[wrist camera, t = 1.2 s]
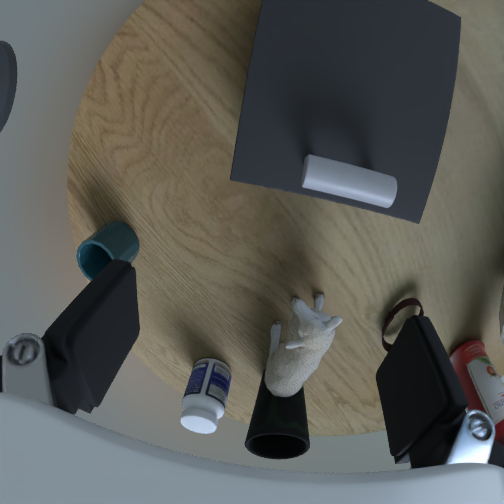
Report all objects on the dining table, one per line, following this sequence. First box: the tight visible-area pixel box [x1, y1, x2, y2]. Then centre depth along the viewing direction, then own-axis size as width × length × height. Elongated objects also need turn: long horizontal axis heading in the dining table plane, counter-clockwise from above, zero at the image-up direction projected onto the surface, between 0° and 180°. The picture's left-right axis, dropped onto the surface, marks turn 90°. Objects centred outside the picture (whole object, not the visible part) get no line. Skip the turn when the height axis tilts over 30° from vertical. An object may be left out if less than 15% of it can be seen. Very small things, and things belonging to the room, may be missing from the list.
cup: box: [245, 368, 310, 459], centre depth 35 cm, size 8×8×12 cm
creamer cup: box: [77, 221, 139, 281], centre depth 31 cm, size 5×6×6 cm
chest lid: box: [230, 0, 461, 224], centre depth 14 cm, size 16×14×5 cm
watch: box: [382, 298, 424, 352], centre depth 33 cm, size 8×5×4 cm, turn 167°
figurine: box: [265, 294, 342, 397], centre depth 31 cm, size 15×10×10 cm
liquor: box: [450, 340, 504, 446], centre depth 23 cm, size 7×7×28 cm
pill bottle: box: [180, 358, 232, 434], centre depth 37 cm, size 6×6×10 cm
